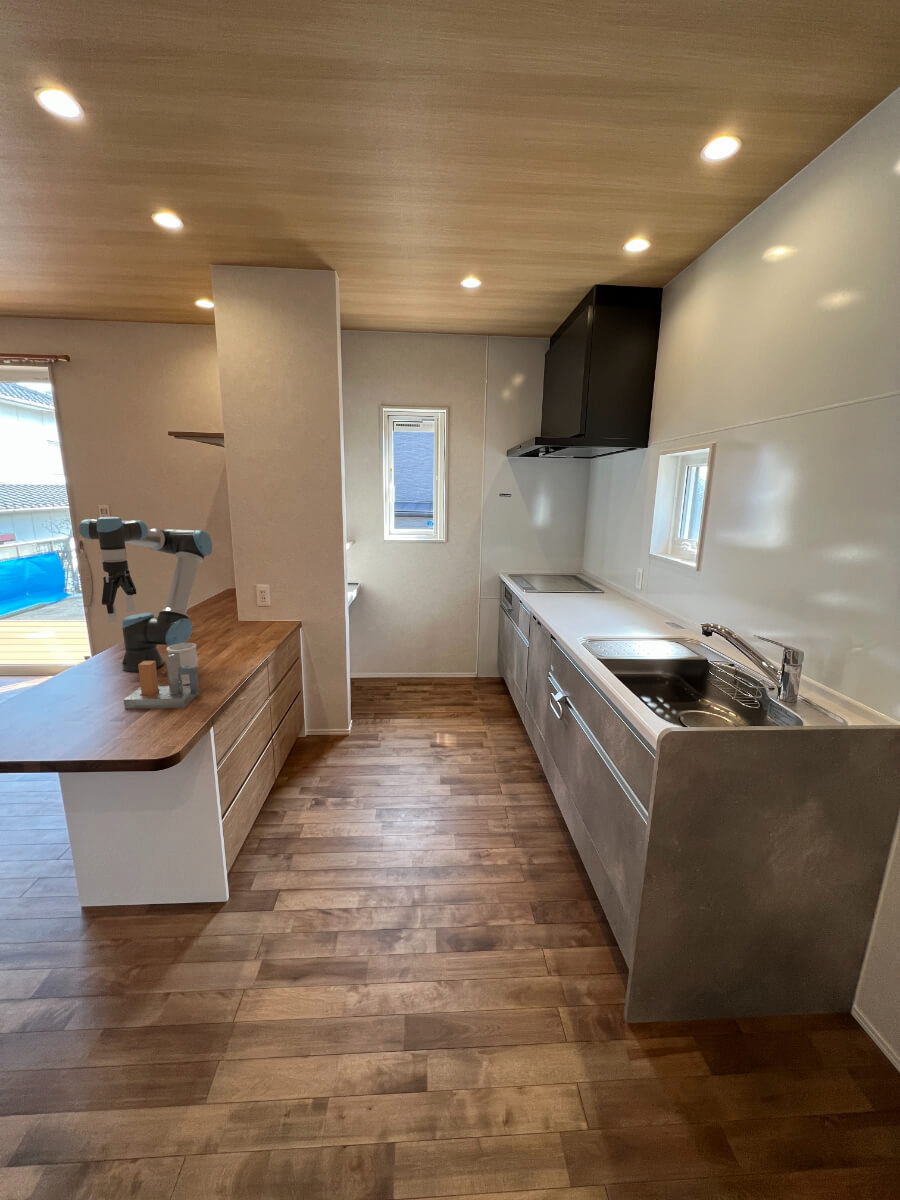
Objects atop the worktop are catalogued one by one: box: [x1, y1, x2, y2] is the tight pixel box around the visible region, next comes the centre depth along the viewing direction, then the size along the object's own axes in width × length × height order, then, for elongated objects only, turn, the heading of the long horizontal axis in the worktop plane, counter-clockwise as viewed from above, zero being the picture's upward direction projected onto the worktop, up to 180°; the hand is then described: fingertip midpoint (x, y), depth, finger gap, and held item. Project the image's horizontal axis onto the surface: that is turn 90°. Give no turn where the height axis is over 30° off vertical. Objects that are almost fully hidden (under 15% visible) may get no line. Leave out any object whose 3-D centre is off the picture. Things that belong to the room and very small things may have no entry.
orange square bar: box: [138, 661, 159, 695], centre depth 173 cm, size 4×4×15 cm
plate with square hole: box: [123, 653, 200, 710], centre depth 173 cm, size 12×22×18 cm, turn 97°
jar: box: [166, 642, 199, 686], centre depth 192 cm, size 11×10×15 cm
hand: (122, 616), depth 178 cm, fingers open, 13 cm apart
